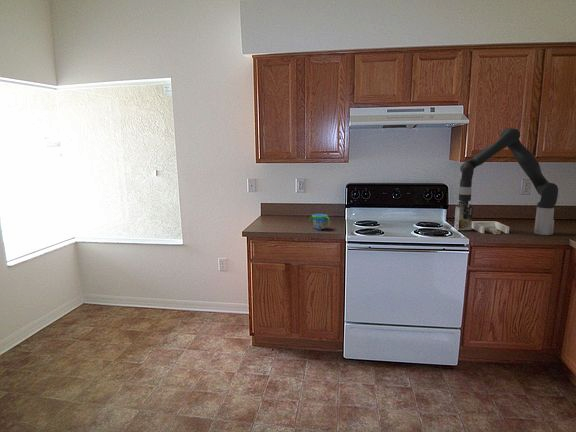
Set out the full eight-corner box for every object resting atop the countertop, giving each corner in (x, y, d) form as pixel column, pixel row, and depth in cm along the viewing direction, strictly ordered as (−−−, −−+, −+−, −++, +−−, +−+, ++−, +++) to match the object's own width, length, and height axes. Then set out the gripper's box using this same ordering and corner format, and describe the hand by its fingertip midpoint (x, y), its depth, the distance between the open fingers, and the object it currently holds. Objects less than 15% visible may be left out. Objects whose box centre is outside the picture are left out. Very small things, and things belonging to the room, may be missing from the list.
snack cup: (333, 229, 264) (333, 215, 262) (324, 232, 256) (325, 217, 254) (314, 226, 273) (314, 212, 271) (306, 229, 265) (306, 215, 263)
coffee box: (466, 228, 255) (468, 204, 252) (471, 230, 249) (473, 206, 246) (453, 228, 255) (455, 205, 252) (458, 230, 249) (459, 206, 246)
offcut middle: (500, 234, 240) (500, 231, 240) (494, 234, 240) (495, 231, 239) (490, 230, 250) (490, 228, 250) (484, 230, 249) (485, 228, 249)
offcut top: (497, 231, 240) (497, 229, 240) (490, 231, 242) (490, 228, 241) (495, 229, 247) (496, 226, 247) (488, 228, 249) (489, 226, 248)
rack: (495, 228, 258) (496, 221, 257) (508, 234, 241) (509, 227, 240) (470, 228, 259) (470, 221, 258) (481, 234, 242) (482, 227, 241)
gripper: (475, 194, 240) (473, 220, 243) (466, 192, 254) (464, 216, 257) (463, 195, 240) (461, 220, 244) (455, 192, 255) (453, 216, 258)
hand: (463, 218), depth 250 cm, fingers closed on coffee box, 6 cm apart
